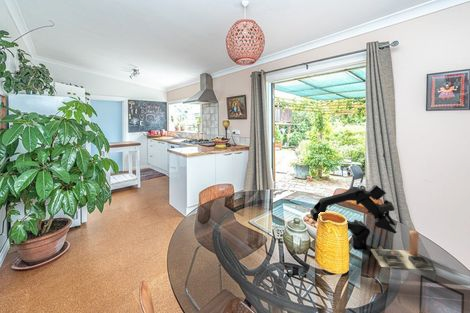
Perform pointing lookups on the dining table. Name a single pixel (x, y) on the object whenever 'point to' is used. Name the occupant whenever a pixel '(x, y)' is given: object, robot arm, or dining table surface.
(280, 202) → the dining table surface
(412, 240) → the terracotta pin
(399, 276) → the dining table surface
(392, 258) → the pin board
